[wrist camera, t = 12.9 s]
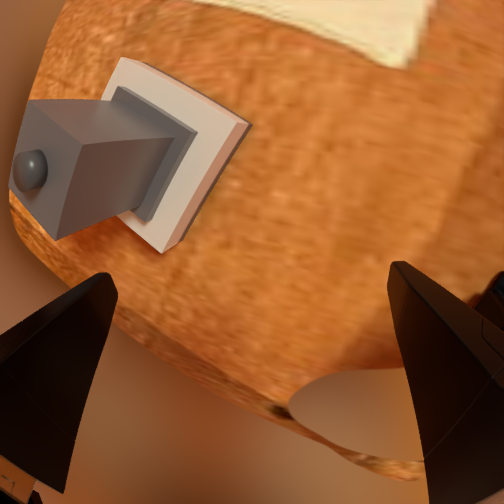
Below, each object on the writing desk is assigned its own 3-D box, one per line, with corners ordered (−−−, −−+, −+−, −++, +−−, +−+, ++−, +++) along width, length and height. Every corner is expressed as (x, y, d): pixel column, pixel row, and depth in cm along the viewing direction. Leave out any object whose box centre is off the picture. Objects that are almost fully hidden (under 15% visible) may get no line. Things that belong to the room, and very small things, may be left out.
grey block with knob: (212, 132, 19) (82, 137, 9) (167, 212, 22) (47, 271, 12) (142, 89, 19) (11, 79, 9) (107, 165, 22) (-13, 195, 12)
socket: (252, 124, 19) (235, 122, 16) (182, 240, 23) (159, 255, 20) (146, 63, 19) (118, 56, 16) (97, 170, 24) (69, 177, 21)
